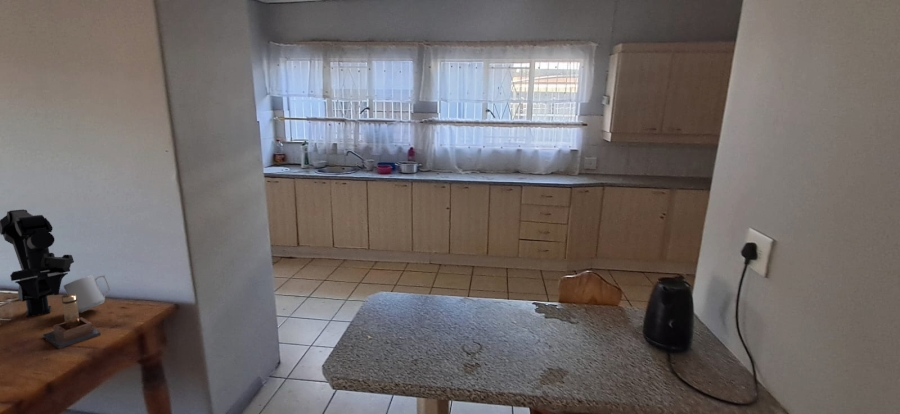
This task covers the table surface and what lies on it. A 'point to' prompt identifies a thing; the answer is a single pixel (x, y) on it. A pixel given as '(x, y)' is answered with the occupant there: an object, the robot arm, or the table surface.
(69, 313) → the gold metallic cylinder
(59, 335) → the frame
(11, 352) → the table surface
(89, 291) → the mug
